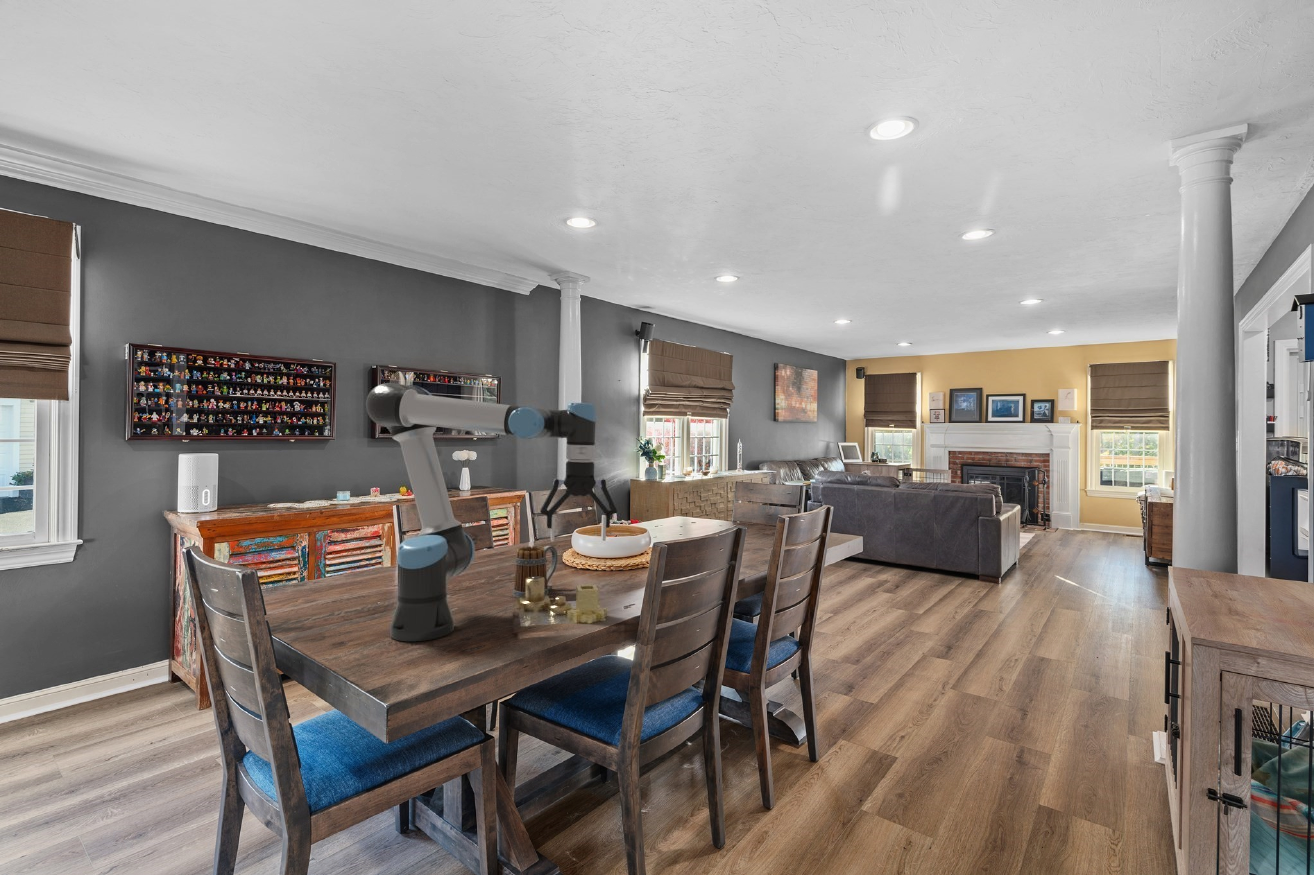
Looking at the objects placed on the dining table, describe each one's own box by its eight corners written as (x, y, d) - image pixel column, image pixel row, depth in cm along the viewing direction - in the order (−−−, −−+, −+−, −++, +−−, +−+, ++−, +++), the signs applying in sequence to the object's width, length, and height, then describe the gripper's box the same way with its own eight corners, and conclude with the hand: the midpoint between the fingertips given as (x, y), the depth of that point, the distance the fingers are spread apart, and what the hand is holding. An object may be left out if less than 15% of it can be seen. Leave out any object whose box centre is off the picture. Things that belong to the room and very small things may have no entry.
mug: (529, 605, 179) (529, 553, 179) (505, 598, 185) (505, 549, 185) (567, 593, 191) (567, 545, 191) (544, 588, 198) (544, 542, 198)
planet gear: (569, 625, 157) (569, 593, 157) (565, 613, 167) (565, 583, 167) (609, 622, 160) (609, 591, 160) (603, 610, 170) (603, 581, 170)
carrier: (517, 631, 156) (517, 593, 156) (515, 607, 177) (515, 573, 177) (606, 624, 161) (606, 588, 161) (593, 602, 182) (594, 569, 182)
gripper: (533, 461, 157) (531, 543, 157) (629, 462, 163) (626, 542, 163) (531, 459, 164) (529, 538, 164) (623, 460, 170) (621, 537, 171)
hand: (578, 540), depth 164 cm, fingers open, 13 cm apart
